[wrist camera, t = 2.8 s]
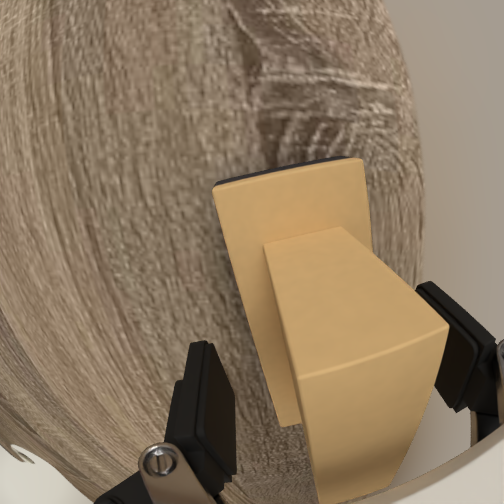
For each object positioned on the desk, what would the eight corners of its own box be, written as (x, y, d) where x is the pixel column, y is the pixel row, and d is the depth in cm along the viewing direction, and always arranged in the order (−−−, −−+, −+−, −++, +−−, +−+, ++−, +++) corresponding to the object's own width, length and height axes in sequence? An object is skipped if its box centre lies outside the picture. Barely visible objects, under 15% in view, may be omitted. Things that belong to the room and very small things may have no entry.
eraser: (341, 155, 10) (505, 189, 3) (358, 379, 14) (405, 489, 7) (215, 181, 10) (165, 269, 3) (276, 400, 14) (295, 522, 7)
